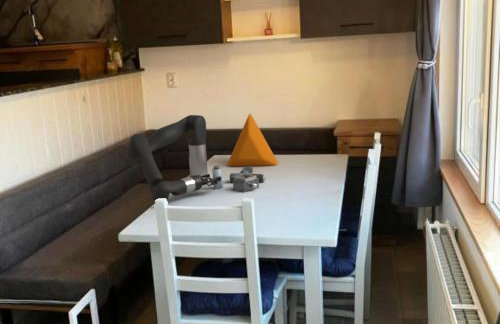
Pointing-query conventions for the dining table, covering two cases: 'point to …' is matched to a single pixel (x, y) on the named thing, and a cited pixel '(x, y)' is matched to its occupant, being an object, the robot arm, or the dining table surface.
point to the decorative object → (251, 148)
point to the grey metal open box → (245, 183)
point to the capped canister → (217, 173)
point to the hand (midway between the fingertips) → (214, 177)
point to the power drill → (247, 171)
